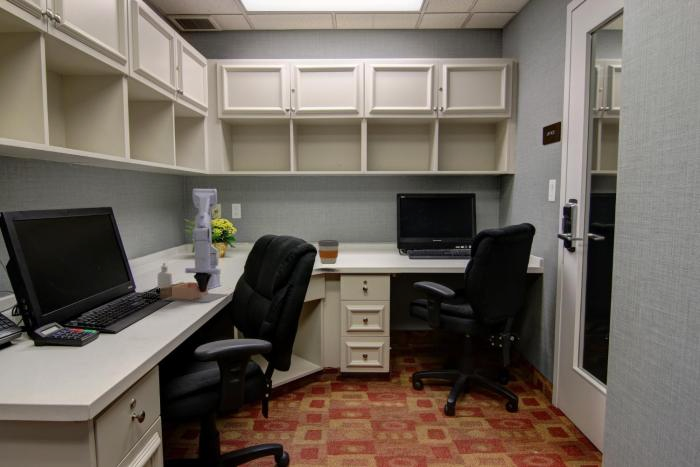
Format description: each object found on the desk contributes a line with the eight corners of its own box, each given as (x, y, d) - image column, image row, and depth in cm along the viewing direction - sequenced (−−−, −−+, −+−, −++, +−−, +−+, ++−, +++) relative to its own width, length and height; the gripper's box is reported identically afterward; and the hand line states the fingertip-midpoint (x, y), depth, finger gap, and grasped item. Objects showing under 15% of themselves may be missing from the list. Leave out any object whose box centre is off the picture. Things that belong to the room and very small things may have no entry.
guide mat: (177, 291, 172) (177, 291, 172) (228, 294, 167) (228, 294, 167) (153, 299, 159) (153, 298, 159) (208, 302, 153) (208, 302, 153)
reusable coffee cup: (332, 263, 257) (332, 239, 256) (342, 265, 246) (342, 241, 245) (314, 264, 250) (314, 240, 249) (324, 267, 240) (324, 242, 239)
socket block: (188, 292, 169) (188, 282, 169) (208, 293, 167) (207, 283, 166) (172, 298, 159) (171, 286, 159) (192, 299, 157) (191, 288, 156)
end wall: (181, 291, 171) (181, 282, 171) (185, 292, 171) (185, 282, 171) (160, 298, 159) (160, 288, 158) (164, 298, 158) (164, 288, 158)
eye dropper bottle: (166, 289, 178) (165, 262, 177) (173, 290, 174) (172, 263, 173) (156, 290, 174) (155, 263, 173) (163, 292, 171) (162, 264, 170)
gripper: (179, 258, 158) (180, 292, 159) (212, 259, 155) (213, 294, 156) (191, 256, 165) (192, 289, 166) (223, 257, 162) (223, 291, 162)
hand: (203, 291), depth 161 cm, fingers closed
